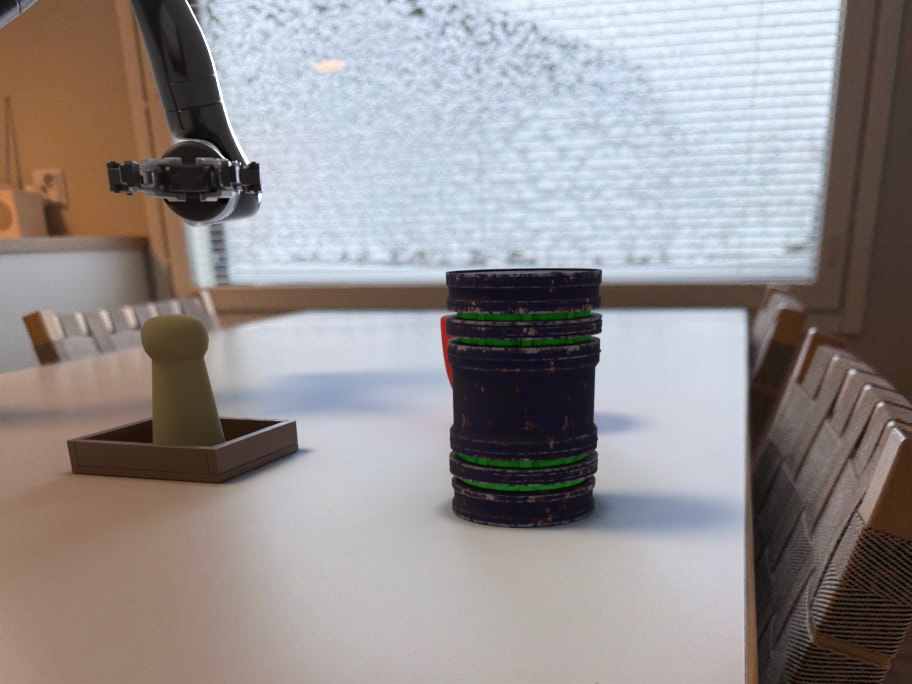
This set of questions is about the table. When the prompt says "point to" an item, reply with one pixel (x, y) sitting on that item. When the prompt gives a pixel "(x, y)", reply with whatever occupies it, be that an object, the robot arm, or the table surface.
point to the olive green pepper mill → (181, 382)
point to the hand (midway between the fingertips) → (178, 173)
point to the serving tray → (183, 451)
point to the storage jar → (523, 394)
